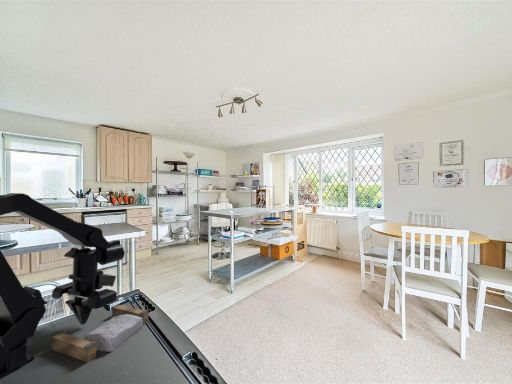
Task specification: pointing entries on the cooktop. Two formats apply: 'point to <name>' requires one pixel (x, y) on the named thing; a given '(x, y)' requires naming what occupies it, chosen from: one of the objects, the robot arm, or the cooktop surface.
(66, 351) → the wooden blocks
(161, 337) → the cooktop surface
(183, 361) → the cooktop surface
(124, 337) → the stone block
